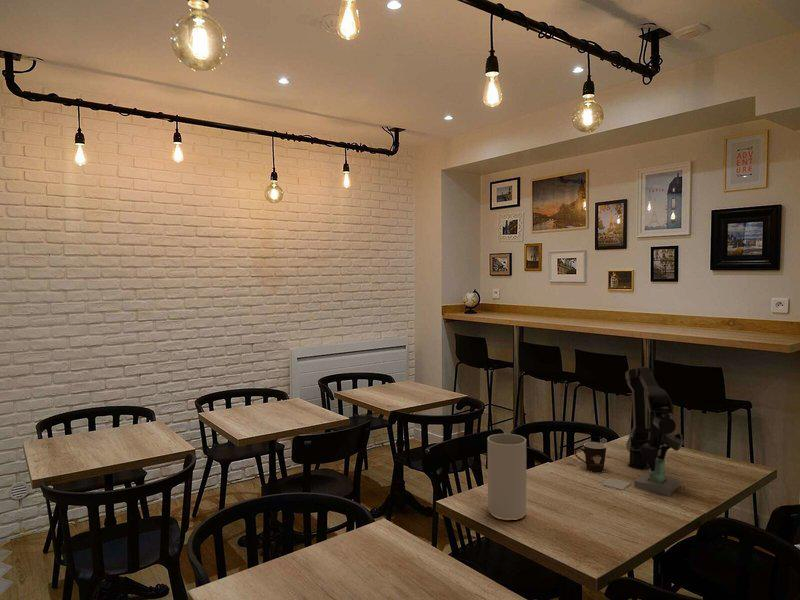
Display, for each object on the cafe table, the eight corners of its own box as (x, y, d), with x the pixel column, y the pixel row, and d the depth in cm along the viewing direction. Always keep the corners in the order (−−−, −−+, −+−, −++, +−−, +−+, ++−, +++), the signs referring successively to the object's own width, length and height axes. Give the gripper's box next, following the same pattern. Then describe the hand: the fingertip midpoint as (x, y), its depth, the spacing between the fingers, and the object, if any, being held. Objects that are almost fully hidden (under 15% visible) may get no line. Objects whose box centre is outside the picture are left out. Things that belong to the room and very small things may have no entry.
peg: (649, 487, 202) (649, 460, 202) (653, 483, 205) (653, 457, 205) (661, 489, 200) (661, 462, 199) (664, 486, 203) (664, 459, 202)
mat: (601, 485, 205) (601, 483, 205) (609, 479, 211) (609, 478, 210) (622, 490, 199) (622, 489, 199) (630, 484, 205) (630, 483, 205)
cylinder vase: (481, 515, 180) (480, 440, 179) (498, 502, 190) (498, 431, 189) (516, 525, 173) (515, 447, 172) (532, 511, 183) (532, 437, 182)
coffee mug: (608, 468, 222) (608, 444, 222) (603, 475, 215) (603, 449, 215) (579, 463, 228) (579, 439, 228) (573, 469, 221) (573, 445, 221)
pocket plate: (634, 487, 202) (634, 480, 202) (646, 478, 211) (646, 471, 211) (669, 495, 194) (669, 488, 194) (679, 486, 203) (679, 479, 203)
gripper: (672, 435, 189) (672, 480, 190) (688, 424, 203) (688, 466, 204) (639, 429, 197) (639, 472, 198) (657, 419, 211) (656, 459, 211)
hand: (657, 467), depth 202 cm, fingers open, 9 cm apart
